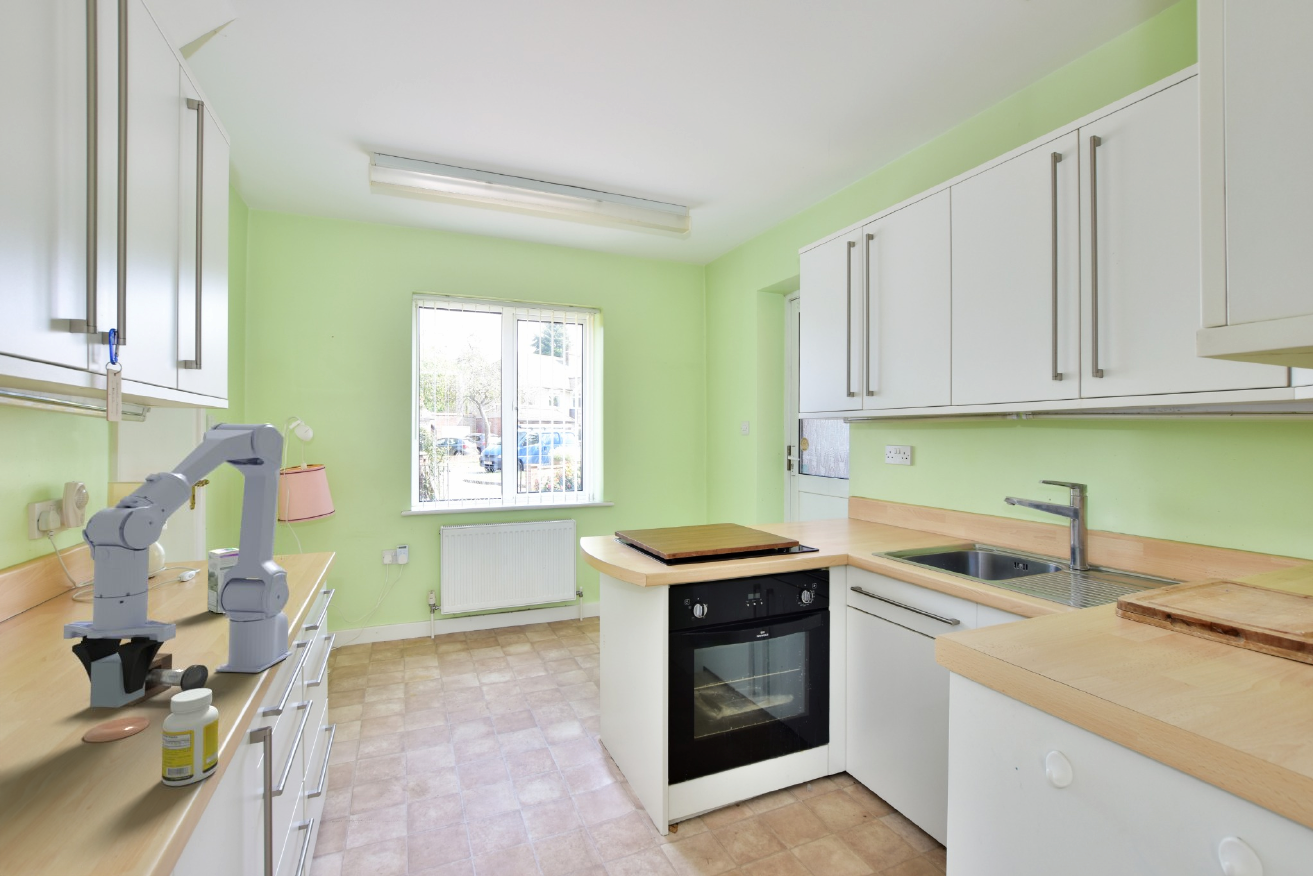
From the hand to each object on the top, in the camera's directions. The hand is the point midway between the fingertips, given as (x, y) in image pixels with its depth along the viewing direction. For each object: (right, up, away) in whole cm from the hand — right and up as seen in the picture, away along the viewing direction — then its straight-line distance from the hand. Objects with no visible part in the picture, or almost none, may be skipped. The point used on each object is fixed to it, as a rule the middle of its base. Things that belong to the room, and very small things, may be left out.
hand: (118, 690), depth 83 cm
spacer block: (0, -1, 0) cm, 1 cm away
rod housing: (-8, -6, +11) cm, 15 cm away
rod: (-1, -5, +11) cm, 12 cm away
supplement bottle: (+19, -6, -11) cm, 22 cm away
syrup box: (-28, -6, +59) cm, 66 cm away
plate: (0, -6, 0) cm, 6 cm away
